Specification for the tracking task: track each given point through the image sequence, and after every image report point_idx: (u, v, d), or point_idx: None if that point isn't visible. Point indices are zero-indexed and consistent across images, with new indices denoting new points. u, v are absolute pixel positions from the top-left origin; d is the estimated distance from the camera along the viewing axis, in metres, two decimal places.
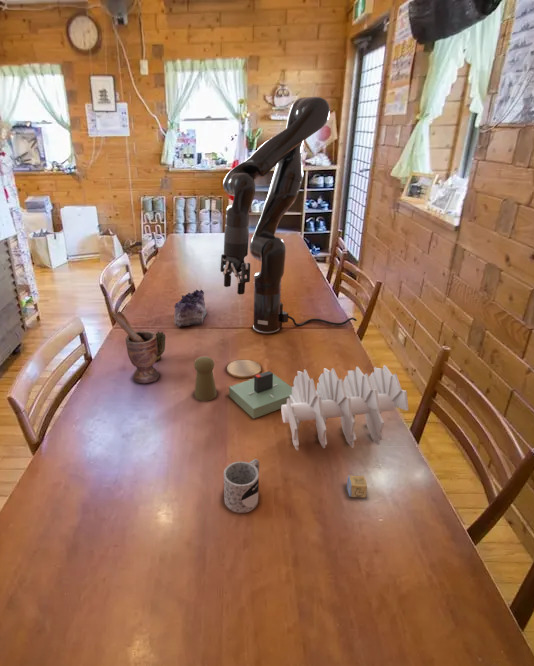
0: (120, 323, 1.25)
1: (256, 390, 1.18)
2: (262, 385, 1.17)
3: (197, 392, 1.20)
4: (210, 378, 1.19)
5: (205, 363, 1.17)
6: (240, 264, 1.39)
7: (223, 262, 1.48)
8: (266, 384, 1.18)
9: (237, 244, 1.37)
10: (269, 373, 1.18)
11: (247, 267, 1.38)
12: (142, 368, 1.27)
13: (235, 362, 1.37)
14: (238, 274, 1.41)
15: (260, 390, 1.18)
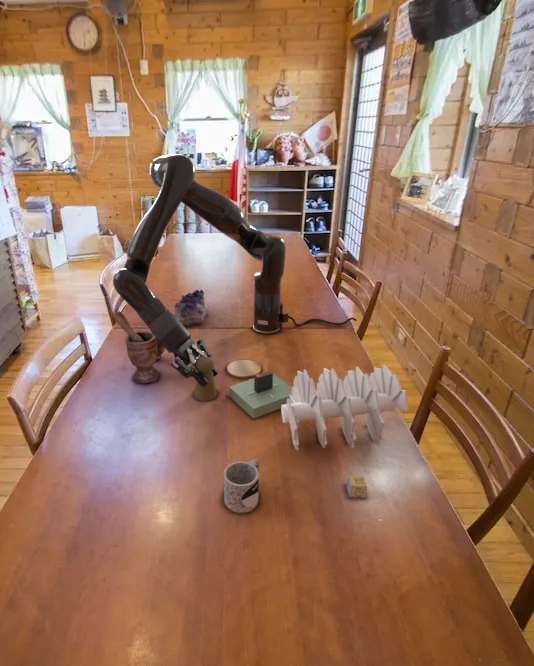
0: (120, 323, 1.25)
1: (256, 390, 1.18)
2: (262, 385, 1.17)
3: (197, 392, 1.20)
4: (210, 378, 1.19)
5: (205, 363, 1.17)
6: (175, 358, 1.17)
7: None
8: (266, 384, 1.18)
9: (160, 341, 1.18)
10: (269, 373, 1.18)
11: (176, 365, 1.14)
12: (142, 368, 1.27)
13: (235, 362, 1.37)
14: None
15: (260, 390, 1.18)
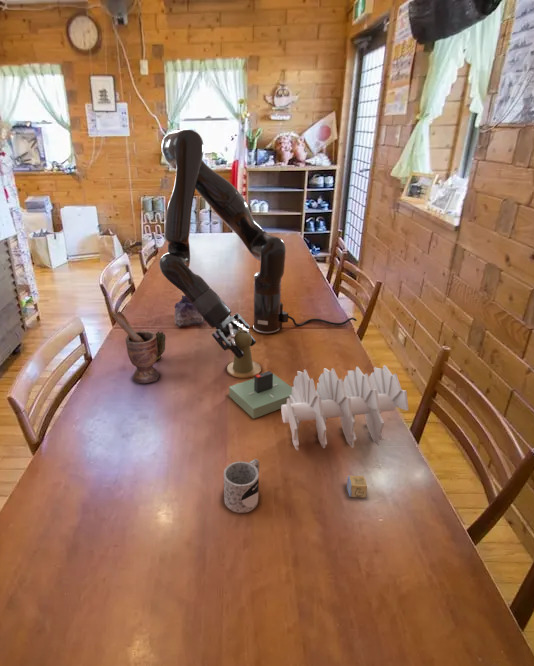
0: (120, 323, 1.25)
1: (256, 390, 1.18)
2: (262, 385, 1.17)
3: (236, 365, 1.32)
4: (248, 352, 1.31)
5: (244, 338, 1.28)
6: None
7: None
8: (266, 384, 1.18)
9: (204, 316, 1.29)
10: (269, 373, 1.18)
11: (217, 335, 1.25)
12: (142, 368, 1.27)
13: None
14: None
15: (260, 390, 1.18)
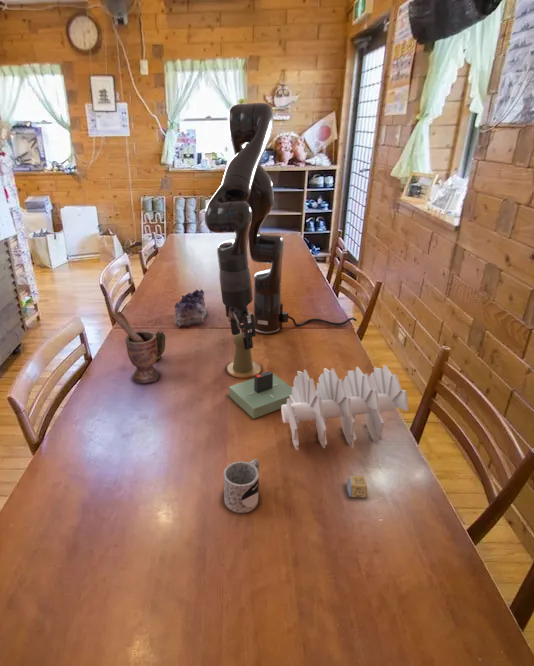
0: (120, 323, 1.25)
1: (256, 390, 1.18)
2: (262, 385, 1.17)
3: (236, 365, 1.32)
4: (248, 352, 1.31)
5: None
6: (242, 315, 1.09)
7: (227, 306, 1.19)
8: (266, 384, 1.18)
9: (234, 292, 1.07)
10: (269, 373, 1.18)
11: (250, 320, 1.08)
12: (142, 368, 1.27)
13: None
14: (241, 327, 1.11)
15: (260, 390, 1.18)
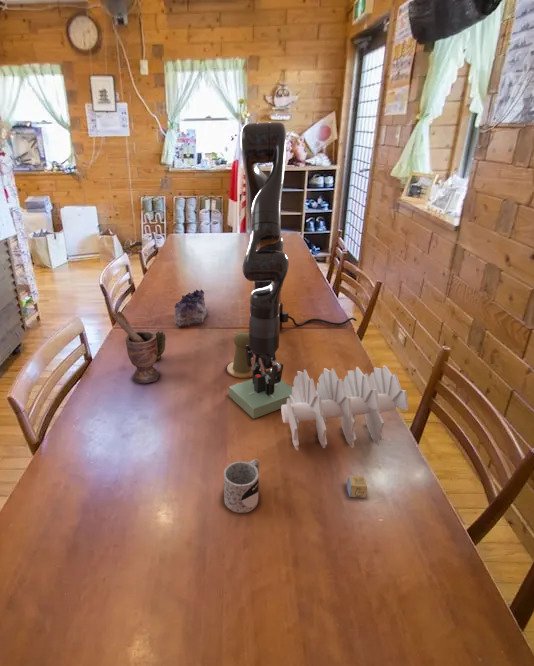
0: (120, 323, 1.25)
1: (256, 390, 1.18)
2: (262, 385, 1.17)
3: (236, 365, 1.32)
4: None
5: (244, 338, 1.28)
6: (271, 361, 1.11)
7: (249, 355, 1.20)
8: None
9: (266, 339, 1.09)
10: None
11: (279, 369, 1.10)
12: (142, 368, 1.27)
13: None
14: (267, 373, 1.13)
15: (260, 390, 1.18)
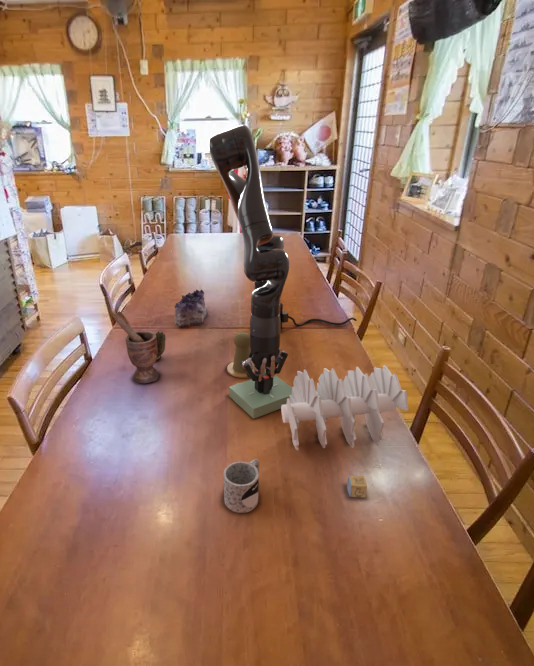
0: (120, 323, 1.25)
1: (268, 391, 1.17)
2: None
3: (236, 365, 1.32)
4: (248, 352, 1.31)
5: (244, 338, 1.28)
6: (279, 350, 1.16)
7: None
8: None
9: None
10: None
11: None
12: (142, 368, 1.27)
13: None
14: None
15: None
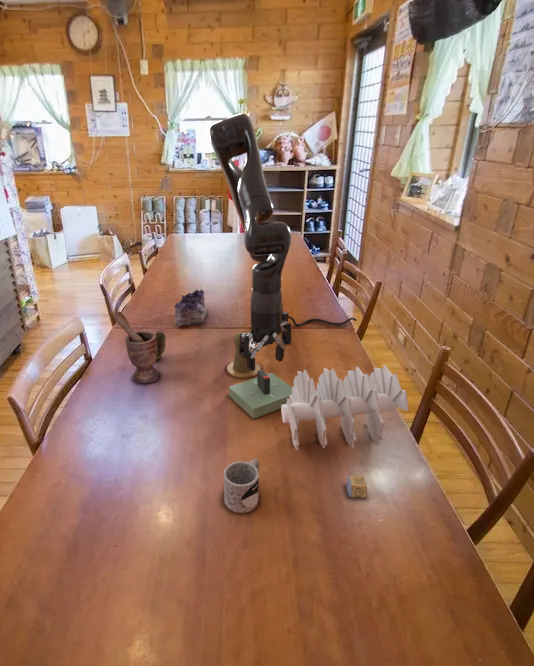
0: (120, 323, 1.25)
1: (268, 391, 1.17)
2: None
3: (236, 365, 1.32)
4: None
5: None
6: (281, 328, 1.13)
7: None
8: None
9: None
10: (261, 371, 1.19)
11: None
12: (142, 368, 1.27)
13: None
14: (281, 340, 1.14)
15: None
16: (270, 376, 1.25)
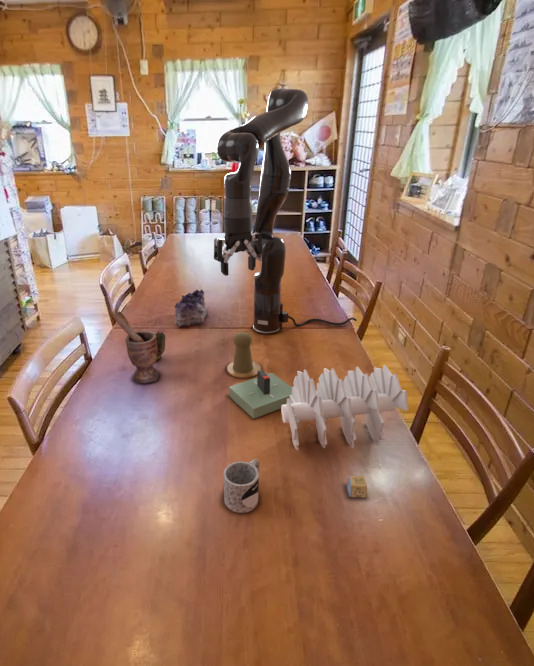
0: (120, 323, 1.25)
1: (268, 391, 1.17)
2: None
3: (236, 365, 1.32)
4: (248, 352, 1.31)
5: (244, 338, 1.28)
6: (252, 237, 1.25)
7: None
8: None
9: None
10: (261, 371, 1.19)
11: None
12: (142, 368, 1.27)
13: None
14: None
15: None
16: (270, 376, 1.25)
